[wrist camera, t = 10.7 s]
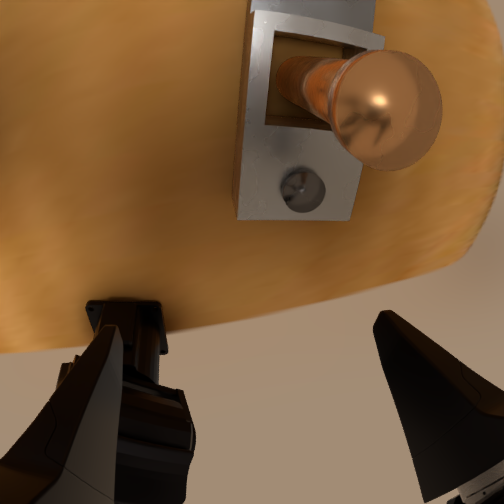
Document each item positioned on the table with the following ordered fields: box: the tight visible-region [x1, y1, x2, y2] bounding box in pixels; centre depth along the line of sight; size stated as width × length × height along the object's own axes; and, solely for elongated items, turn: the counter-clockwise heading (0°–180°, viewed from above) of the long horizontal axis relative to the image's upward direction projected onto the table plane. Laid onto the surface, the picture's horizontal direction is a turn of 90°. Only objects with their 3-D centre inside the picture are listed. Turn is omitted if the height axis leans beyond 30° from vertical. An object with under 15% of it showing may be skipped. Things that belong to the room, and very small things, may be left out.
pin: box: [276, 49, 442, 171], centre depth 12 cm, size 4×4×10 cm
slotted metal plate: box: [232, 0, 385, 221], centre depth 15 cm, size 17×7×4 cm, turn 175°
